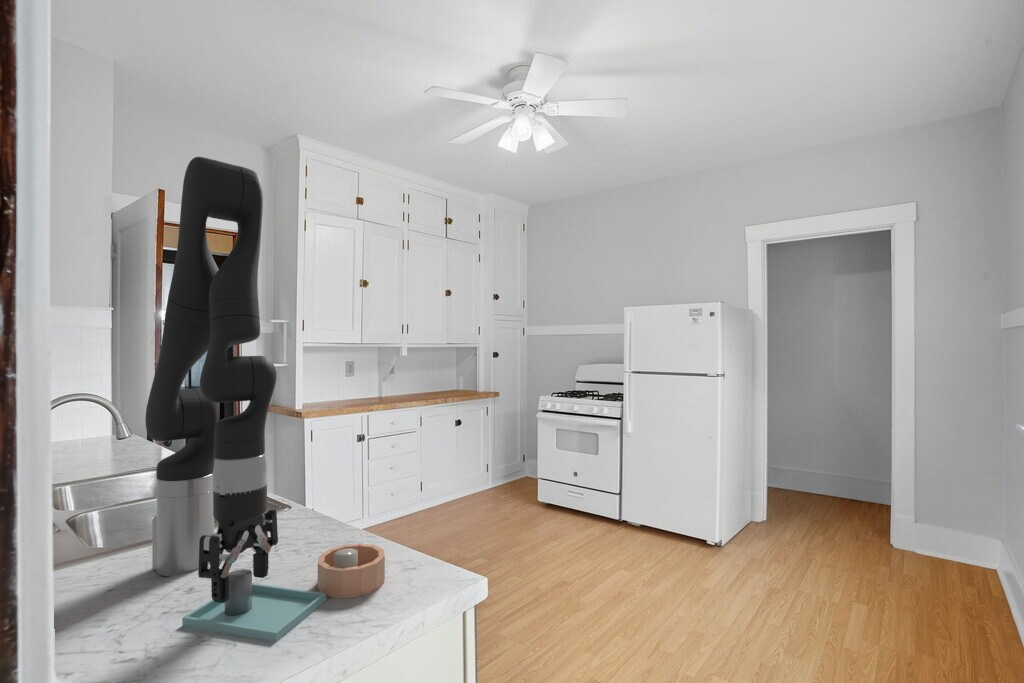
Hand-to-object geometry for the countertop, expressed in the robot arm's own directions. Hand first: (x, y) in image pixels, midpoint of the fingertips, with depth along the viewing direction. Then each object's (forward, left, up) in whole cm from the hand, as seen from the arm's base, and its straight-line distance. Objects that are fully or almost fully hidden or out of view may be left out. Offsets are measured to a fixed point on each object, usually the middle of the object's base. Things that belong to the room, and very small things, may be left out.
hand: (241, 588), depth 84 cm
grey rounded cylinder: (-1, 0, -3) cm, 3 cm away
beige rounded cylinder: (+11, +11, -3) cm, 16 cm away
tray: (+3, 0, -4) cm, 5 cm away
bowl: (+11, +13, -4) cm, 18 cm away
